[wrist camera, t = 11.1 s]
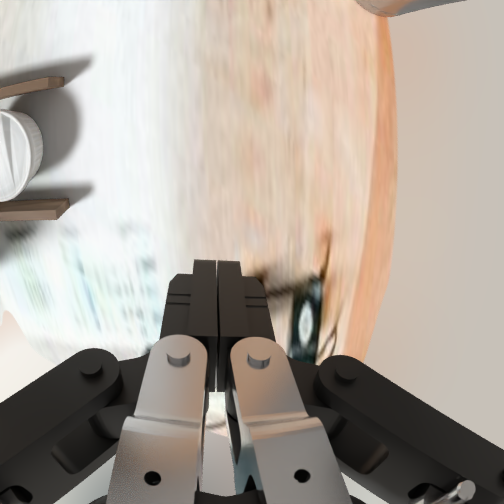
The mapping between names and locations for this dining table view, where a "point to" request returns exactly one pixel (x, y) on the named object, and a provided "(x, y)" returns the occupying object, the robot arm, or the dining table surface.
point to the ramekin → (18, 152)
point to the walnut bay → (32, 208)
